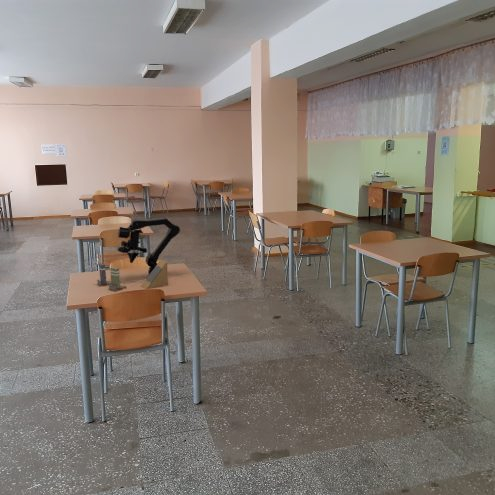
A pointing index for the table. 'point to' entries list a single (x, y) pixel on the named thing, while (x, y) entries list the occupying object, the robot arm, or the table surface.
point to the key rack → (110, 285)
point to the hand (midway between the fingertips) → (131, 262)
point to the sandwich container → (157, 276)
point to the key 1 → (102, 273)
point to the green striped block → (115, 277)
